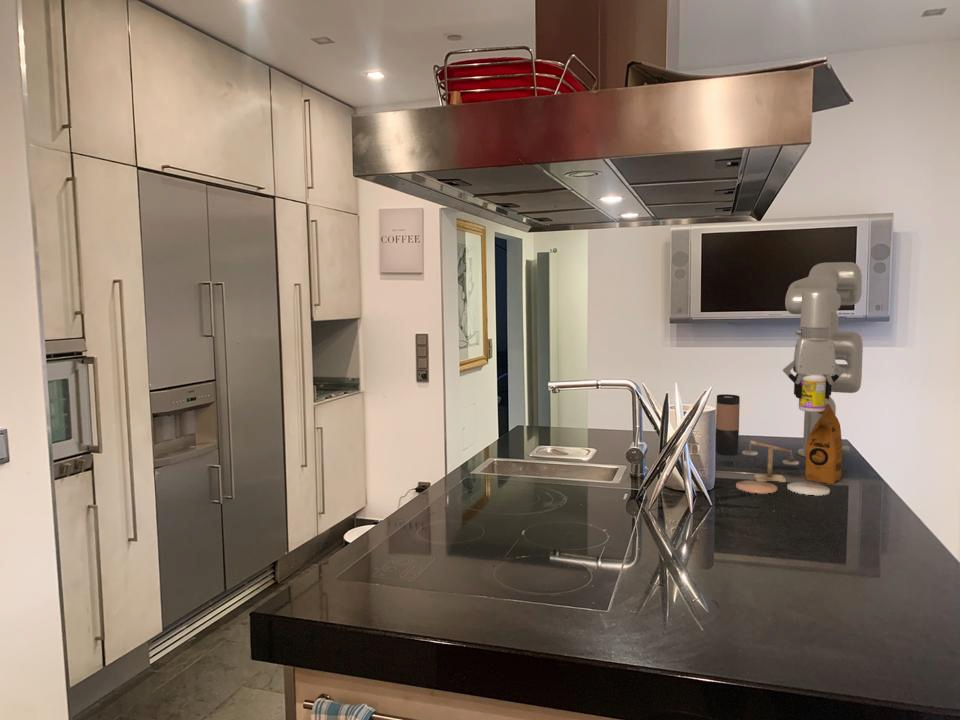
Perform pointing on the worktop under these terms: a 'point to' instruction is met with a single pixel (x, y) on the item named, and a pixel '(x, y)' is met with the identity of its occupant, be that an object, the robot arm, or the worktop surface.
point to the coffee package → (824, 449)
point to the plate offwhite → (808, 488)
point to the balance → (771, 461)
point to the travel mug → (727, 424)
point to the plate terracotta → (756, 487)
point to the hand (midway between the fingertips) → (812, 397)
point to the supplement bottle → (813, 393)
